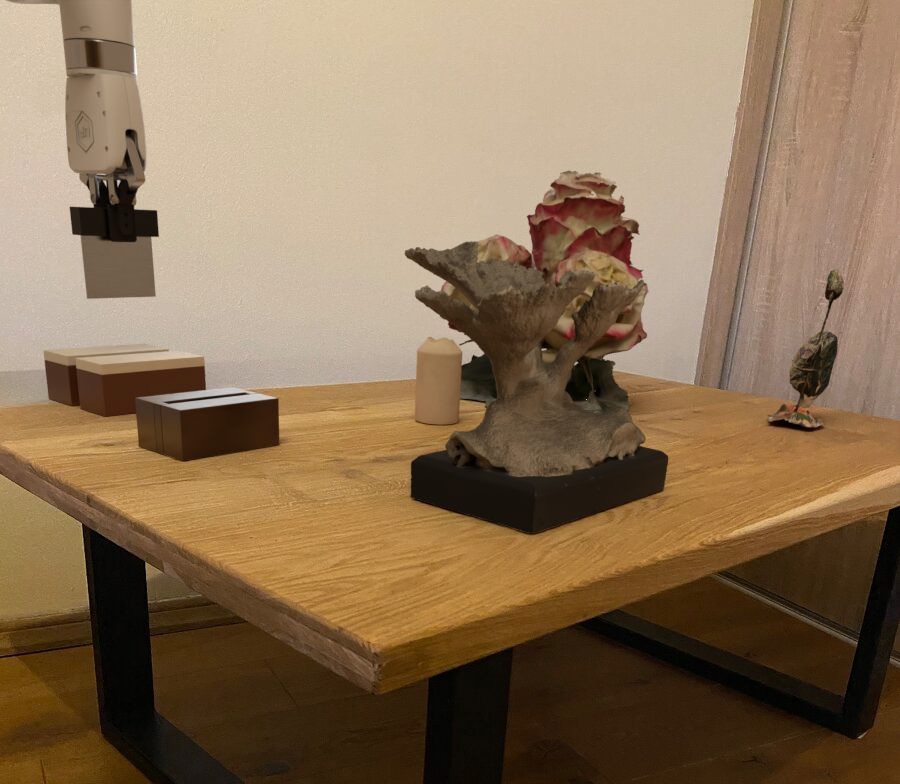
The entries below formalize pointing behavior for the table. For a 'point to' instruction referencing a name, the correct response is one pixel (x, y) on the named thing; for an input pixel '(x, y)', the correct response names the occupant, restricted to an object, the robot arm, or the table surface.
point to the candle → (438, 382)
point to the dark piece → (115, 254)
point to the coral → (531, 401)
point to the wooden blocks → (119, 376)
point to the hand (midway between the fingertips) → (116, 239)
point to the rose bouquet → (555, 251)
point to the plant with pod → (813, 366)
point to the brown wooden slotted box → (207, 422)
